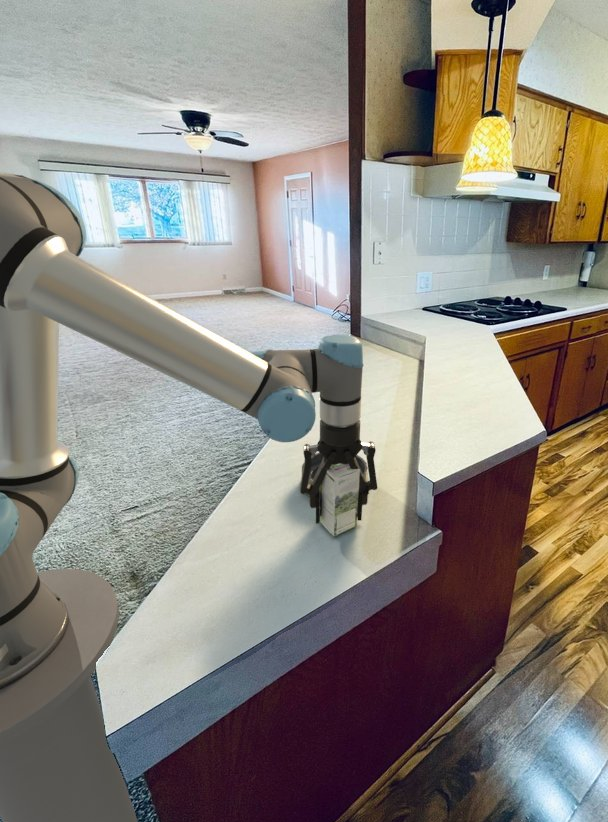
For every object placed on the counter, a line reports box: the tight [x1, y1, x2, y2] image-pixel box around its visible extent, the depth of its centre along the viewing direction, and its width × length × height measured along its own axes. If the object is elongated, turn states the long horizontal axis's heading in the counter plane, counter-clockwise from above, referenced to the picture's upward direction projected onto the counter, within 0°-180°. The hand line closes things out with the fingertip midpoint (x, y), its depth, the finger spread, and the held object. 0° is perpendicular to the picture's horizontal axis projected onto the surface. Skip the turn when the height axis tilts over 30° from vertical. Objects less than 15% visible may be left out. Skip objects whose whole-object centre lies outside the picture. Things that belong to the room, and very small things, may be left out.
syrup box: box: [320, 464, 360, 538], centre depth 82 cm, size 6×6×14 cm
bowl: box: [301, 452, 369, 498], centre depth 96 cm, size 15×15×5 cm
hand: (338, 517), depth 84 cm, fingers open, 8 cm apart
